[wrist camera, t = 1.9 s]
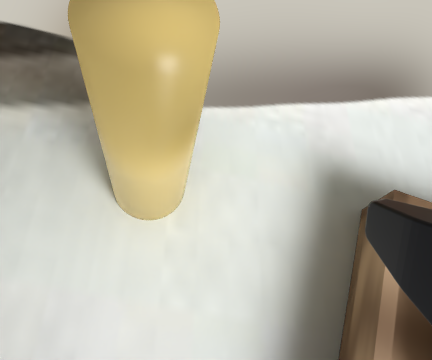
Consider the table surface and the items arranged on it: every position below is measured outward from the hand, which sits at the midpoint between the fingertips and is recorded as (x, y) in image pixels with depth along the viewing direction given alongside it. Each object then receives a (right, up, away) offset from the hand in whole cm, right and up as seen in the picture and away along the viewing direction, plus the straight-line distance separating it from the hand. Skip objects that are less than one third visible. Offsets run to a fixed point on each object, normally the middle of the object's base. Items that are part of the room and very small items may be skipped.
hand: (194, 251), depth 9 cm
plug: (-3, +1, +14) cm, 14 cm away
